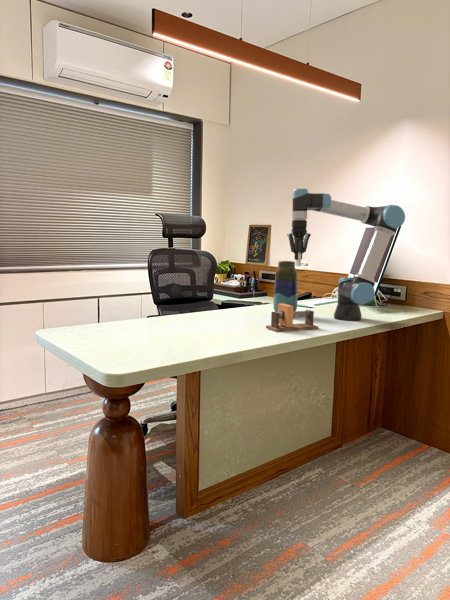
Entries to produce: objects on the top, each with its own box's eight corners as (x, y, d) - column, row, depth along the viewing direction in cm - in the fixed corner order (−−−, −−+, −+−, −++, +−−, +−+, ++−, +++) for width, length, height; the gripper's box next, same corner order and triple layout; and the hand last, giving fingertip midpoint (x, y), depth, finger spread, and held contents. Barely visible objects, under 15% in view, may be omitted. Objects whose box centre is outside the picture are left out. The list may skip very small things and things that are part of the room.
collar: (282, 323, 232) (283, 303, 231) (292, 326, 223) (293, 306, 222) (277, 323, 231) (277, 303, 230) (287, 327, 222) (287, 306, 220)
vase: (268, 315, 266) (270, 261, 261) (279, 312, 277) (280, 260, 273) (291, 318, 258) (293, 262, 254) (300, 314, 270) (302, 261, 266)
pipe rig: (307, 325, 238) (308, 308, 237) (318, 328, 229) (319, 311, 227) (266, 328, 229) (266, 310, 228) (275, 331, 220) (276, 313, 219)
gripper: (306, 220, 241) (304, 265, 245) (284, 219, 236) (283, 265, 239) (314, 219, 234) (312, 266, 238) (292, 219, 229) (290, 266, 233)
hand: (298, 266), depth 239 cm, fingers closed
